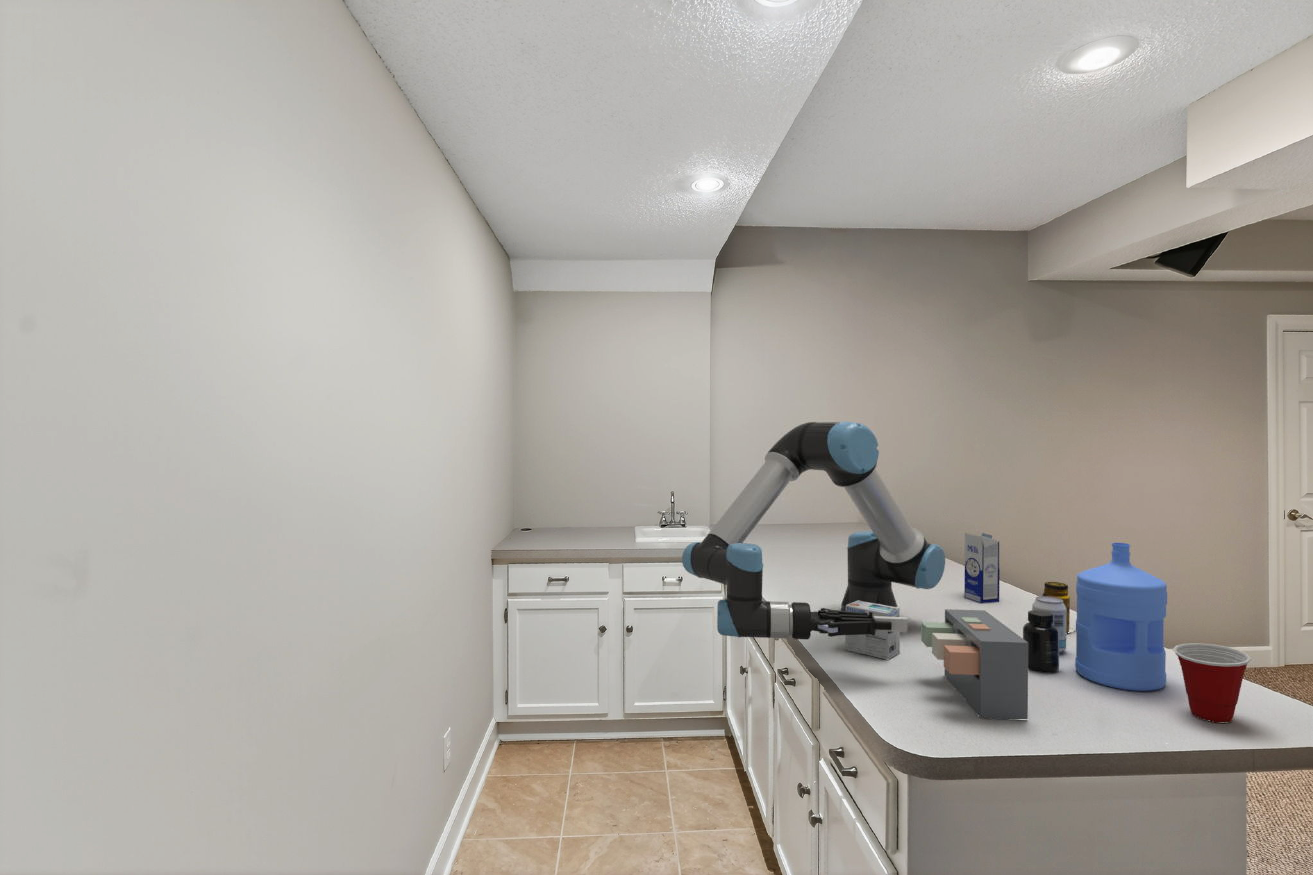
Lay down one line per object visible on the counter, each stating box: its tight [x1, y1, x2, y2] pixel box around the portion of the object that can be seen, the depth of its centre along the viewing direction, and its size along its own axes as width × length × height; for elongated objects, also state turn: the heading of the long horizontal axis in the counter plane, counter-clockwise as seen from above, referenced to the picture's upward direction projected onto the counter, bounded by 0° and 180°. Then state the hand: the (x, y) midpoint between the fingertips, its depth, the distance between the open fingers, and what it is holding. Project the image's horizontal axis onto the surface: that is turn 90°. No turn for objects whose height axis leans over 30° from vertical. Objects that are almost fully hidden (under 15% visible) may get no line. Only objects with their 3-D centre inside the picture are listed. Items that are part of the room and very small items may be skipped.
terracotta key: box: [943, 645, 980, 675], centre depth 125 cm, size 7×4×4 cm, turn 84°
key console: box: [943, 608, 1029, 720], centre depth 132 cm, size 8×21×14 cm, turn 174°
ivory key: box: [931, 633, 966, 661], centre depth 132 cm, size 7×4×4 cm, turn 84°
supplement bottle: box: [1022, 610, 1060, 674], centre depth 147 cm, size 7×7×12 cm
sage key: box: [921, 621, 953, 648], centre depth 140 cm, size 7×4×4 cm, turn 84°
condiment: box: [1042, 581, 1076, 633], centre depth 173 cm, size 7×8×12 cm
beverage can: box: [1031, 595, 1067, 654], centre depth 158 cm, size 7×7×12 cm
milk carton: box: [963, 532, 1001, 605], centre depth 203 cm, size 7×7×20 cm
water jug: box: [1074, 542, 1168, 692], centre depth 141 cm, size 16×16×28 cm
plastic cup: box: [1172, 642, 1252, 723], centre depth 122 cm, size 11×11×12 cm
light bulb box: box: [845, 600, 901, 661], centre depth 158 cm, size 11×7×11 cm, turn 48°
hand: (906, 624), depth 140 cm, fingers closed
